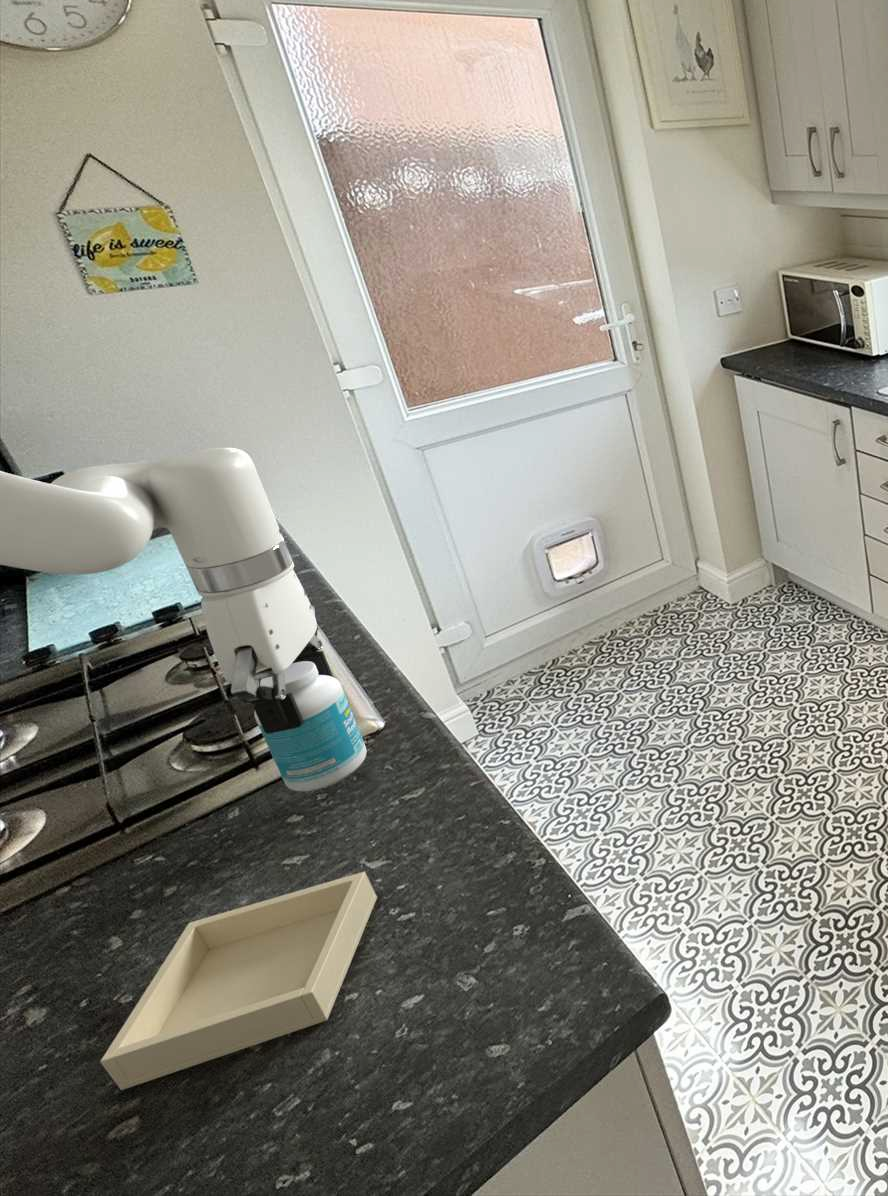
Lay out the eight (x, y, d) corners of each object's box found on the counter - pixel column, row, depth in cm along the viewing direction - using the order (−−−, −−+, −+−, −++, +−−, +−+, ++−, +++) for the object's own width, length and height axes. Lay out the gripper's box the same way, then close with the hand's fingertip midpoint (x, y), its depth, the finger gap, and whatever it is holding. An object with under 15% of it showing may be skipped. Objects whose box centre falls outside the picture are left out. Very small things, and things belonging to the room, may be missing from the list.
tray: (120, 1090, 62) (99, 1061, 60) (205, 949, 73) (188, 922, 71) (327, 1020, 66) (311, 992, 65) (377, 897, 77) (365, 870, 76)
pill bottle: (380, 762, 91) (342, 666, 86) (301, 805, 85) (256, 704, 80) (353, 739, 95) (315, 646, 90) (276, 778, 89) (231, 681, 84)
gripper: (238, 537, 87) (294, 669, 93) (144, 617, 72) (218, 768, 78) (320, 525, 89) (369, 654, 96) (246, 599, 74) (310, 747, 80)
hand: (301, 704), depth 87 cm, fingers closed on pill bottle, 7 cm apart
